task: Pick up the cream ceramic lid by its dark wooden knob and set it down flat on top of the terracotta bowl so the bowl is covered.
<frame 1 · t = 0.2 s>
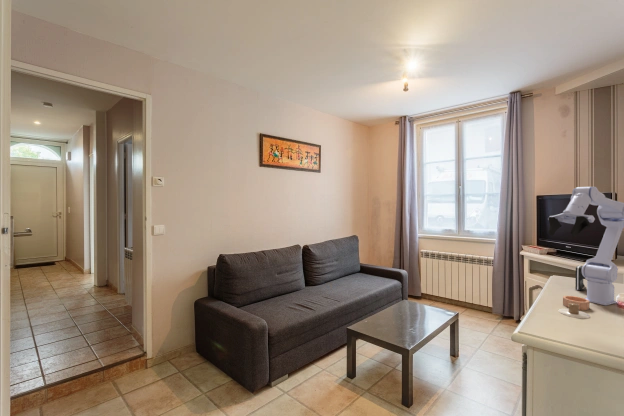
hand: (561, 234, 113), 31 cm above the table, tool tilted 45°, fingers open, 7 cm apart
bowl: (575, 306, 120), on the table
lid: (573, 314, 113), on the table
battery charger: (582, 290, 142), on the table
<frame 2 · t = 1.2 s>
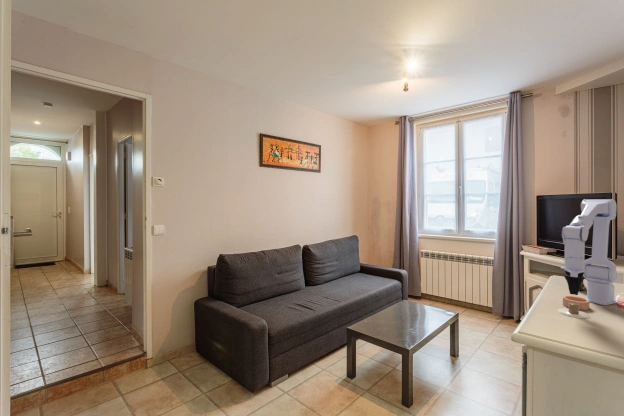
hand: (573, 291, 113), 8 cm above the table, tool pointing down, fingers open, 7 cm apart
nothing on the table moved.
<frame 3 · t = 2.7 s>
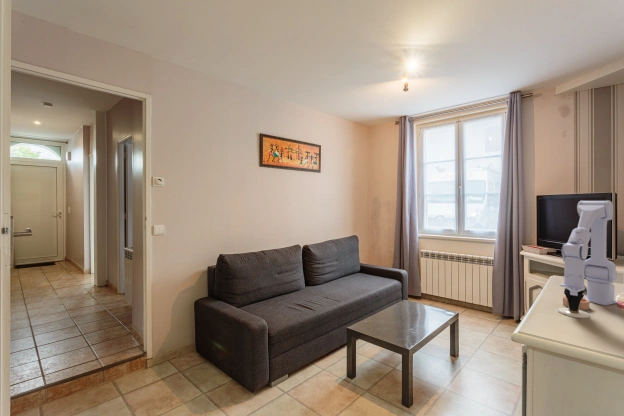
hand: (573, 309, 113), 2 cm above the table, tool pointing down, fingers closed on lid, 3 cm apart
lid: (573, 313, 113), on the table, touching gripper
everything else where it was.
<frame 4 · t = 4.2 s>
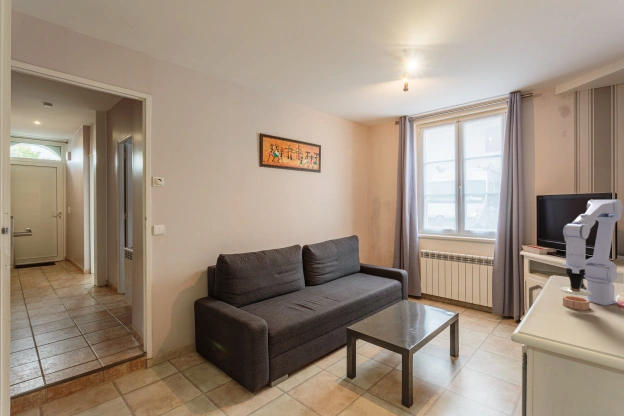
hand: (575, 287, 117), 9 cm above the table, tool pointing down, fingers closed on lid, 3 cm apart
lid: (575, 291, 117), point 7 cm above the table, touching gripper
everything else where it was.
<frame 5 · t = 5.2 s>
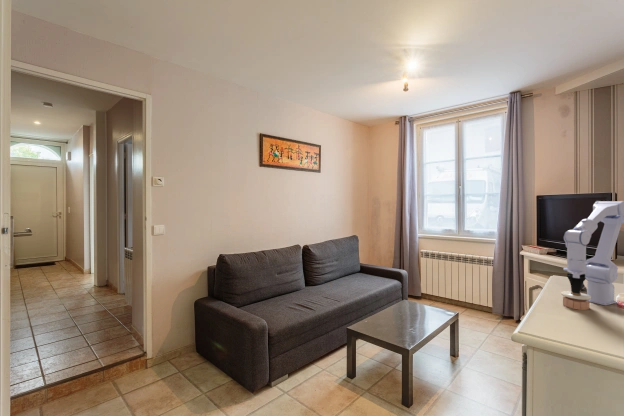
hand: (575, 292, 120), 6 cm above the table, tool pointing down, fingers closed on lid, 3 cm apart
lid: (575, 296, 120), point 4 cm above the table, touching gripper
everything else where it was.
when the fingers open (6 cm above the table, at t = 5.8 s): lid drops 1 cm, resting on bowl.
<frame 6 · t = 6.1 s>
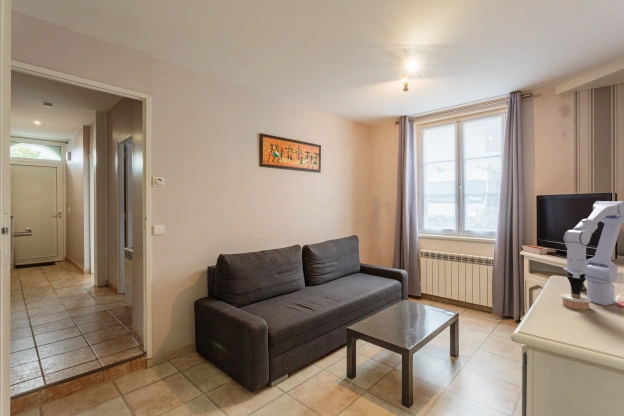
hand: (575, 292, 120), 6 cm above the table, tool pointing down, fingers open, 6 cm apart
lid: (575, 298, 120), point 3 cm above the table, touching bowl
everything else where it was.
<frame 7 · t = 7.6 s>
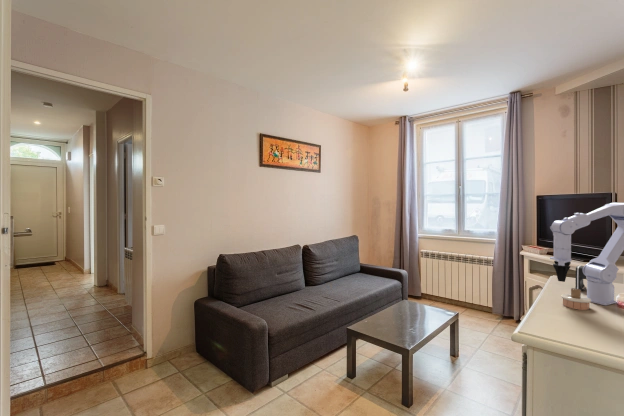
hand: (561, 279, 127), 9 cm above the table, tool pointing down, fingers open, 7 cm apart
nothing on the table moved.
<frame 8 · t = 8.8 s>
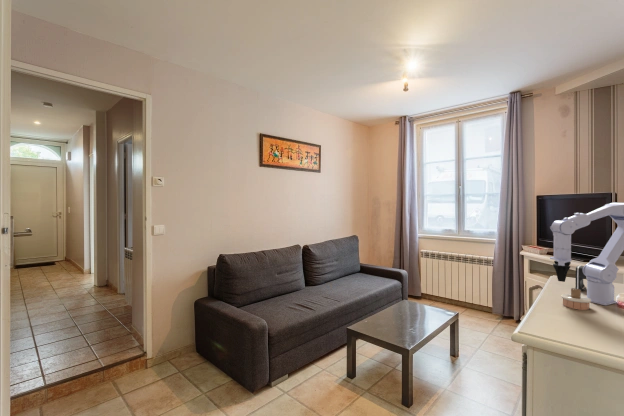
hand: (561, 279, 127), 9 cm above the table, tool pointing down, fingers open, 7 cm apart
nothing on the table moved.
at the end: lid 0.0 cm off-centre on the bowl, point 3.0 cm above the bowl's base; lid tilted 0°; the gripper is holding nothing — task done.
